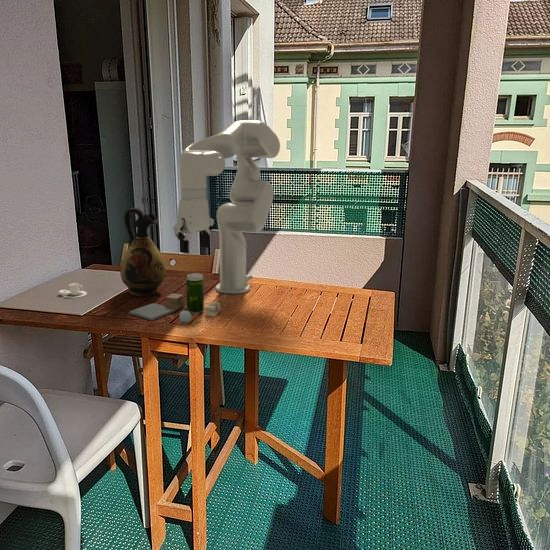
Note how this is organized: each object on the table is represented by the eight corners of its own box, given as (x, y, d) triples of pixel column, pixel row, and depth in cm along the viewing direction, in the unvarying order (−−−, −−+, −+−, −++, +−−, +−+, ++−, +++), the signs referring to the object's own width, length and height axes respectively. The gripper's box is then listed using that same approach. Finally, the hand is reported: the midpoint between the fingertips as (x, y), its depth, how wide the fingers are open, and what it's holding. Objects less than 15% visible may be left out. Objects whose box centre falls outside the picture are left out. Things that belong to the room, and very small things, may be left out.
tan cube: (172, 304, 162) (172, 293, 161) (183, 306, 161) (183, 294, 160) (166, 308, 159) (166, 297, 158) (177, 310, 158) (177, 298, 157)
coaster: (153, 305, 161) (153, 303, 161) (175, 311, 156) (175, 309, 156) (129, 313, 153) (129, 311, 153) (151, 320, 148) (151, 318, 148)
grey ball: (185, 319, 150) (184, 308, 149) (194, 321, 148) (193, 310, 147) (176, 322, 147) (176, 311, 146) (185, 325, 145) (185, 313, 144)
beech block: (211, 310, 158) (211, 301, 157) (220, 311, 157) (220, 302, 157) (205, 315, 153) (205, 306, 153) (214, 316, 153) (214, 307, 152)
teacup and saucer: (55, 297, 168) (54, 285, 167) (71, 290, 176) (70, 279, 175) (76, 300, 166) (75, 288, 165) (91, 293, 173) (91, 282, 172)
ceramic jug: (173, 288, 180) (170, 207, 172) (152, 300, 166) (148, 212, 158) (132, 283, 184) (128, 204, 176) (108, 295, 170) (102, 209, 162)
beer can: (203, 308, 160) (202, 272, 157) (204, 313, 155) (204, 277, 152) (186, 309, 159) (185, 273, 155) (187, 314, 154) (186, 278, 150)
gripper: (203, 190, 155) (204, 243, 160) (163, 195, 141) (166, 253, 146) (221, 192, 151) (222, 246, 156) (183, 197, 137) (185, 257, 142)
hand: (195, 249), depth 151 cm, fingers open, 9 cm apart
